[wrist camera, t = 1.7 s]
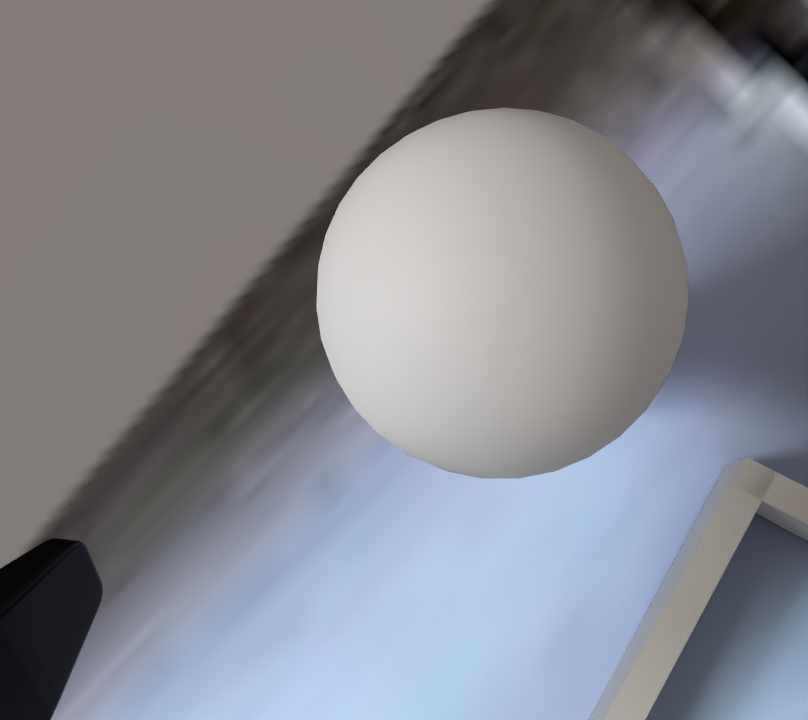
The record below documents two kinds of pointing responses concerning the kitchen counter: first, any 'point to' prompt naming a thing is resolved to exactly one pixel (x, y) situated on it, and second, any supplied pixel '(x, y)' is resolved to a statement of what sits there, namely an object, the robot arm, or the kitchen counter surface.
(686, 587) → the socket board
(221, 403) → the kitchen counter surface
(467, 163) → the lightbulb
